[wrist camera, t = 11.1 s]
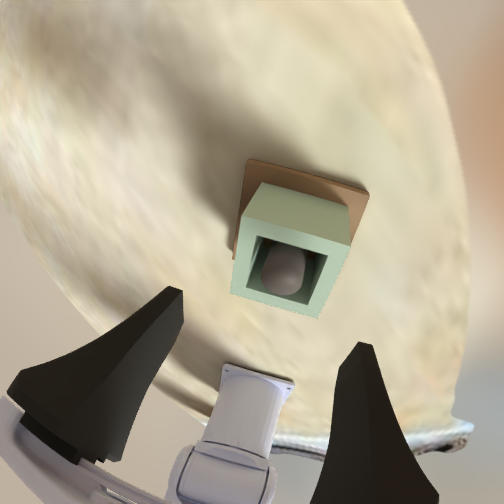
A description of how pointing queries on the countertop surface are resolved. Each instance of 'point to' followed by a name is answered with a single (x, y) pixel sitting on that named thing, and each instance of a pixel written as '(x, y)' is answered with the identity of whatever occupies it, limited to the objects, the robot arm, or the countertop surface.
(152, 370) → the robot arm
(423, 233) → the countertop surface
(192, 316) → the countertop surface
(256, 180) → the post base
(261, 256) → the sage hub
